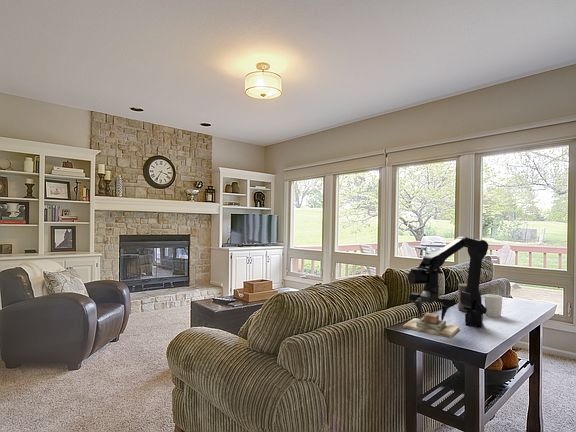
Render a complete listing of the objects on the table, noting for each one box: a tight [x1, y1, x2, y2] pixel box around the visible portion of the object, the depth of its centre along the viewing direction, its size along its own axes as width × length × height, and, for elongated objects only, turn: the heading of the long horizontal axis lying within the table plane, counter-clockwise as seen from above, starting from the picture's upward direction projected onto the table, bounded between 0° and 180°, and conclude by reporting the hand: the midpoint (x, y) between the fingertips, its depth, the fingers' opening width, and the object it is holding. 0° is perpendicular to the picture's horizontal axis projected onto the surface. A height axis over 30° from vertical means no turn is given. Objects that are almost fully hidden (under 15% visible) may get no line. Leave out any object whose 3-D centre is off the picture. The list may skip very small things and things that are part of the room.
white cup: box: [484, 293, 503, 318], centre depth 179 cm, size 8×8×10 cm
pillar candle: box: [457, 283, 467, 313], centre depth 188 cm, size 10×10×15 cm
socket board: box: [402, 316, 460, 338], centre depth 158 cm, size 20×14×3 cm
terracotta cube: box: [423, 311, 440, 325], centre depth 158 cm, size 5×5×5 cm
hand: (431, 318), depth 158 cm, fingers open, 9 cm apart
